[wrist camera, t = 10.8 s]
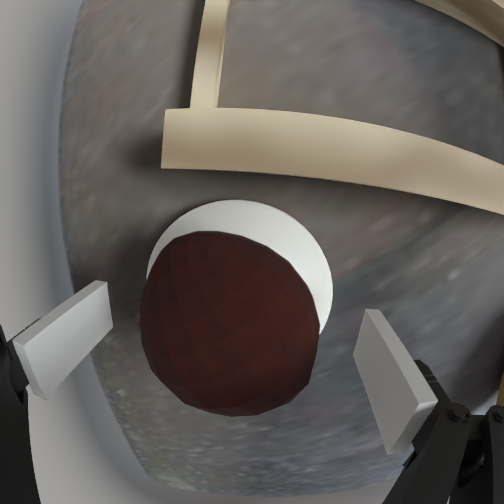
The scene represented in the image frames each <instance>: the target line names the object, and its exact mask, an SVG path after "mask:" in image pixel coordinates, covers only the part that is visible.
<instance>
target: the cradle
mask: <svg viewBox="0 0 504 504" xmlns="http://www.w3.org/2000/svg"><path fill="white" fill-rule="evenodd" d="M414 1H417V2H419V3H422V4H424V5H427V6H429V7H431V8H434V9H436V10H438V11H440V12H443V13H445V14H447V15H449V16H451V17H453V18H455V19H457V20H459V21H461V22H463V23H465V24H467V25H468V26H470V27H472V28H474V29H476V30H477V31H479V32H481V33H482V34H484V35H486V36H487V37H489V38H491V39H492V40H494V41H495V42H497V43H498V44H500V45H501V46H503V47H504V0H414ZM229 6H230V0H206V1H205V6H204V12H203V17H202V23H201V29H200V35H199V41H198V48H197V55H196V62H195V69H194V77H193V85H192V94H191V103H190V108H185V109H166V111H165V120H164V131H163V144H162V158H161V168H167V169H192V170H219V171H238V172H253V173H267V174H278V175H289V176H299V177H308V178H317V179H325V180H333V181H341V182H348V183H355V184H362V185H368V186H374V187H380V188H386V189H392V190H398V191H403V192H408V193H413V194H418V195H423V196H428V197H433V198H437V199H442V200H446V201H451V202H455V203H459V204H463V205H467V206H471V207H475V208H479V209H483V210H487V211H490V212H494V213H497V214H501V215H504V166H503V165H501V164H499V163H497V162H494V161H492V160H489V159H487V158H484V157H482V156H479V155H477V154H474V153H471V152H469V151H466V150H463V149H460V148H458V147H455V146H452V145H449V144H446V143H442V142H439V141H436V140H433V139H429V138H426V137H423V136H419V135H415V134H412V133H408V132H404V131H400V130H396V129H392V128H388V127H383V126H379V125H374V124H369V123H364V122H359V121H353V120H348V119H342V118H336V117H329V116H322V115H315V114H307V113H298V112H288V111H276V110H262V109H242V108H217V107H218V97H219V87H220V77H221V68H222V59H223V51H224V43H225V35H226V27H227V20H228V13H229Z"/></svg>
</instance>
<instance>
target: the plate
mask: <svg viewBox="0 0 504 504" xmlns="http://www.w3.org/2000/svg"><path fill="white" fill-rule="evenodd" d="M195 231H221V232H226V233H231V234H236V235H242V236H244V237H247V238H249V239H251V240H254V241H256V242H259V243H261V244H263V245H266V246H268V247H269V248H271V249H272V250H274V251H275V252H276V253H278V254H279V255H281V256H282V257H284V258H285V259H286V260H288V261H289V262H290V263H291V264H292V266H293V267H294V268H295V270H296V271H297V272H298V274H299V275H300V276H301V277H302V279H303V280H304V281H305V283H306V284H307V285H308V287H309V290H310V292H311V294H312V296H313V299H314V302H315V306H316V310H317V314H318V318H319V322H320V332H319V334H320V333H321V331H322V329H323V328H324V326H325V323H326V321H327V319H328V316H329V312H330V309H331V304H332V295H333V292H332V279H331V273H330V269H329V266H328V263H327V260H326V258H325V256H324V254H323V252H322V250H321V248H320V246H319V245H318V243H317V242H316V240H315V239H314V238H313V236H312V235H311V234H310V232H309V231H308V230H307V229H306V228H305V227H304V226H303V225H302V224H301V223H299V222H298V221H297V220H296V219H295V218H293V217H292V216H290V215H289V214H287V213H285V212H284V211H282V210H280V209H278V208H276V207H273V206H271V205H268V204H265V203H261V202H258V201H252V200H245V199H228V200H220V201H215V202H212V203H208V204H205V205H202V206H200V207H198V208H196V209H193V210H191V211H189V212H188V213H186V214H184V215H183V216H181V217H180V218H178V219H177V220H176V221H175V222H174V223H172V224H171V225H170V226H169V227H168V228H167V230H166V231H165V232H164V233H163V234H162V236H161V237H160V239H159V240H158V242H157V243H156V245H155V247H154V249H153V252H152V254H151V257H150V260H149V264H148V269H147V276H146V281H147V278H148V275H149V273H150V270H151V267H152V265H153V264H154V262H155V260H156V258H157V256H158V255H159V253H160V251H161V250H162V249H163V248H164V247H165V246H166V245H167V244H168V243H169V242H170V241H171V240H173V239H174V238H176V237H179V236H182V235H185V234H188V233H192V232H195Z"/></svg>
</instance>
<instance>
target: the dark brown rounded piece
mask: <svg viewBox="0 0 504 504" xmlns="http://www.w3.org/2000/svg"><path fill="white" fill-rule="evenodd" d="M140 327H141V340H142V346H143V349H144V352H145V354H146V357H147V360H148V363H149V365H150V368H151V370H152V371H153V372H154V374H155V375H156V376H157V377H158V378H159V380H160V381H161V382H162V383H163V384H164V385H165V386H166V387H167V388H168V389H170V390H171V391H172V392H173V393H174V394H175V395H176V396H177V397H178V398H179V399H180V400H181V401H182V402H184V403H185V404H187V405H190V406H192V407H195V408H198V409H201V410H204V411H207V412H210V413H214V414H220V415H225V416H231V417H233V416H251V415H259V414H261V413H264V412H267V411H269V410H272V409H274V408H277V407H279V406H282V405H284V404H287V403H289V402H291V401H292V400H293V399H294V398H295V397H296V396H297V395H298V394H299V393H300V392H301V391H302V390H303V388H304V387H305V386H306V385H307V384H308V383H309V380H310V376H311V372H312V368H313V365H314V361H315V357H316V353H317V346H318V339H319V332H320V322H319V318H318V314H317V310H316V306H315V302H314V299H313V296H312V294H311V292H310V290H309V287H308V285H307V284H306V283H305V281H304V280H303V279H302V277H301V276H300V275H299V274H298V272H297V271H296V270H295V268H294V267H293V266H292V264H291V263H290V262H289V261H288V260H286V259H285V258H284V257H282V256H281V255H279V254H278V253H276V252H275V251H274V250H272V249H271V248H269V247H268V246H266V245H263V244H261V243H259V242H256V241H254V240H251V239H249V238H247V237H244V236H242V235H236V234H231V233H226V232H221V231H195V232H192V233H188V234H185V235H182V236H179V237H176V238H174V239H173V240H171V241H170V242H169V243H168V244H167V245H166V246H165V247H164V248H163V249H162V250H161V251H160V253H159V255H158V256H157V258H156V260H155V262H154V264H153V265H152V267H151V270H150V273H149V275H148V278H147V281H146V285H145V288H144V292H143V295H142V302H141V314H140Z"/></svg>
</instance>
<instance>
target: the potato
mask: <svg viewBox="0 0 504 504" xmlns="http://www.w3.org/2000/svg"><path fill="white" fill-rule="evenodd" d="M496 405H501V406H504V371H503V375H502V379H501V383H500V388H499V393H498V398H497V403H496Z"/></svg>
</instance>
